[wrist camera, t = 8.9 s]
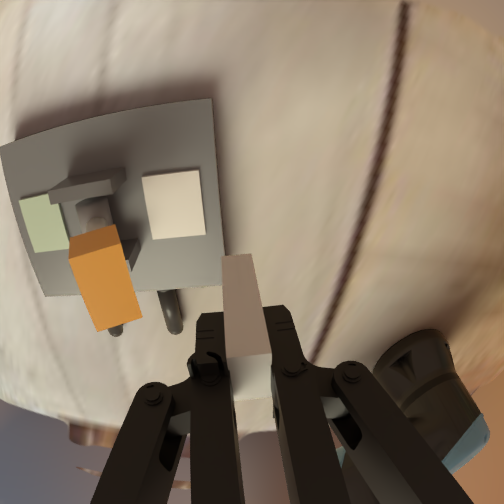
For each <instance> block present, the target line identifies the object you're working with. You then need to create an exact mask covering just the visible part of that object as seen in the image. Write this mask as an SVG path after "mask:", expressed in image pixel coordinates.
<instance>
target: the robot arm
mask: <svg viewBox="0 0 504 504" xmlns="http://www.w3.org/2000/svg"><path fill="white" fill-rule="evenodd" d="M221 264H222V288H223V309H224V312H213V313H202V314H201V315H200V317H199V319H198V320H197V322H196V344H195V353H193V354H192V355H191V356H190V358H189V359H188V362H187V367H188V371H189V374H190V377H189V378H188V379H186V380H185V381H183V382H181V383H179V384H176V385H172V386H169V387H168V386H166V385H165V384H163V383H160V382H151V383H147V384H145V385H143V386H142V387H141V388H140V389H139V390H138V391H137V393H136V395H135V397H134V399H133V402H132V404H131V406H130V408H129V411H128V413H127V415H126V418H125V420H124V422H123V424H122V427H121V429H120V431H119V434H118V436H117V439H116V441H115V443H114V446H113V448H112V451H111V453H110V456H109V458H108V460H107V463H106V465H105V467H104V470H103V472H102V475H101V477H100V480H99V482H98V485H97V487H96V490H95V493H94V495H93V498H92V500H91V503H90V504H167V501H168V498H169V494H170V491H171V487H172V484H173V481H174V477H175V474H176V470H177V467H178V464H179V460H180V457H181V453H182V450H183V447H184V443H185V440H186V437H187V434H188V433H190V469H191V470H190V471H191V504H245V498H244V489H243V481H242V472H241V463H240V453H239V443H238V434H237V423H236V413H235V408H234V401H241V400H251V399H260V398H269V397H272V398H273V418H275V423H276V428H277V434H278V439H279V444H280V450H281V456H282V461H283V467H284V472H285V478H286V483H287V488H288V494H289V499H290V504H474V503H473V502H472V500H471V499H470V498H469V497H468V495H467V494H466V493H465V491H464V490H463V489H462V487H461V486H460V485H459V484H458V482H457V481H456V480H455V478H454V477H453V476H452V474H453V473H454V472H456V471H457V470H458V469H460V468H461V467H462V466H464V465H465V464H466V463H467V462H469V461H470V460H471V459H472V458H473V457H474V456H475V455H476V454H478V453H479V452H480V450H482V448H483V447H484V446H485V445H486V443H487V442H488V440H489V438H490V431H489V428H488V426H487V424H486V422H485V420H484V418H483V414H482V413H481V412H480V410H479V409H478V407H477V405H476V404H475V402H474V400H473V399H472V397H471V395H470V394H469V392H468V390H467V389H466V387H465V386H464V384H463V382H462V381H461V379H460V378H459V376H458V375H457V373H456V371H455V368H454V363H453V359H452V355H451V352H450V347H449V344H448V342H447V340H446V339H445V337H444V336H443V334H442V333H441V332H440V331H438V330H434V329H428V330H422V331H419V332H416V333H414V334H412V335H410V336H408V337H406V338H404V339H402V340H401V341H399V342H398V343H397V344H395V345H394V346H393V347H391V348H390V349H389V350H388V351H387V352H386V353H385V354H384V355H383V356H382V357H381V358H380V360H379V361H378V363H377V364H376V366H375V368H374V370H373V374H372V373H371V372H370V371H369V370H368V368H367V367H365V366H364V365H363V364H362V363H359V362H356V361H346V362H342V363H340V364H339V365H337V367H336V368H335V369H332V368H322V367H317V366H315V365H312V364H311V363H310V362H308V361H307V360H306V359H305V357H304V355H303V352H302V349H301V345H300V342H299V339H298V336H297V332H296V330H295V326H294V323H293V319H292V316H291V313H290V311H289V310H288V309H287V308H286V307H285V306H284V305H277V306H268V307H262V303H261V298H260V293H259V289H258V284H257V279H256V274H255V269H254V264H253V260H252V255H251V254H241V255H230V256H221ZM328 423H329V425H330V427H331V428H332V430H333V431H334V433H335V435H336V436H337V438H338V439H339V441H340V442H341V444H342V447H340V448H338V449H335V445H334V442H333V438H332V435H331V432H330V428H329V425H328Z"/></svg>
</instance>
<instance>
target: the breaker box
mask: <svg viewBox="0 0 504 504" xmlns="http://www.w3.org/2000/svg"><path fill="white" fill-rule="evenodd" d="M0 156H1V161H2V166H3V171H4V175H5V180H6V184H7V188H8V192H9V196H10V200H11V203H12V207H13V211H14V214H15V217H16V221H17V224H18V227H19V230H20V233H21V236H22V239H23V242H24V245H25V248H26V251H27V253H28V256H29V259H30V261H31V264H32V267H33V269H34V272H35V274H36V276H37V279H38V281H39V284H40V286H41V288H42V291H43V293H44V295H45V297H48V296H71V295H81V292H80V290H79V287H78V284H77V282H76V279H75V277H74V274H73V271H72V268H71V265H70V263H69V260H68V257H69V242H70V237H74V236H77V235H80V234H82V230H81V227H80V223H79V219H78V215H77V212H76V208H75V205H76V204H77V203H78V202H80V201H82V200H84V199H86V198H92V197H98V196H104V195H106V196H107V198H108V203H109V207H110V212H111V216H112V221H113V225H114V224H115V225H116V229H117V232H118V235H119V239H120V242H121V246H122V249H123V253H124V257H125V261H126V264H127V268H128V271H129V275H130V278H131V282H132V285H133V288H134V292H141V291H156V290H157V293H158V297H159V300H160V304H161V308H162V311H163V315H164V318H165V322H166V325H167V329H168V331H169V332H170V333H171V334H174V335H177V334H180V333H181V332H182V330H183V322H182V318H181V314H180V310H179V306H178V301H177V297H176V293H175V289H183V288H195V287H208V286H219V285H222V264H221V256H225V247H224V237H223V226H222V215H221V204H220V193H219V181H218V169H217V157H216V144H215V130H214V116H213V102H212V98H208V99H198V100H189V101H181V102H173V103H166V104H159V105H153V106H147V107H141V108H135V109H130V110H125V111H120V112H115V113H110V114H106V115H101V116H97V117H93V118H89V119H85V120H81V121H77V122H73V123H70V124H66V125H63V126H59V127H56V128H52V129H49V130H46V131H43V132H40V133H36V134H33V135H30V136H28V137H25V138H22V139H19V140H16V141H14V142H11V143H8V144H6V145H3V146H1V147H0ZM108 331H109V333H110V334H111V335H112V336H114V337H118V336H120V335H121V334H122V333H123V326H122V324H121V325H118V326H114V327H111V328H108Z"/></svg>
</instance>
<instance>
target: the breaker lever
mask: <svg viewBox="0 0 504 504" xmlns="http://www.w3.org/2000/svg"><path fill="white" fill-rule="evenodd" d="M75 208H76V212H77V215H78V219H79V223H80V227H81V230H82V234H80V235H77V236H74V237H70V242H69V257H68V260H69V263H70V265H71V268H72V271H73V274H74V277H75V279H76V282H77V284H78V287H79V290H80V292H81V295H82V297H83V300H84V302H85V305H86V307H87V309H88V312H89V314H90V316H91V319H92V321H93V323H94V325H95V328H96V330H97V332H99V331H102V330H105V329H108V328H111V327H114V326H118V325H121V324H124V323H127V322H130V321H133V320H136V319H139V318H142V314H141V311H140V308H139V304H138V301H137V298H136V295H135V292H134V288H133V285H132V282H131V278H130V275H129V271H128V268H127V264H126V261H125V257H124V253H123V249H122V246H121V242H120V239H119V235H118V232H117V229H116V225H115V224H114V225H113V221H112V216H111V212H110V207H109V203H108V198H107V196H106V195H104V196H98V197H92V198H86V199H84V200H82V201H80V202H78V203H77V204H76V205H75Z"/></svg>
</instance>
